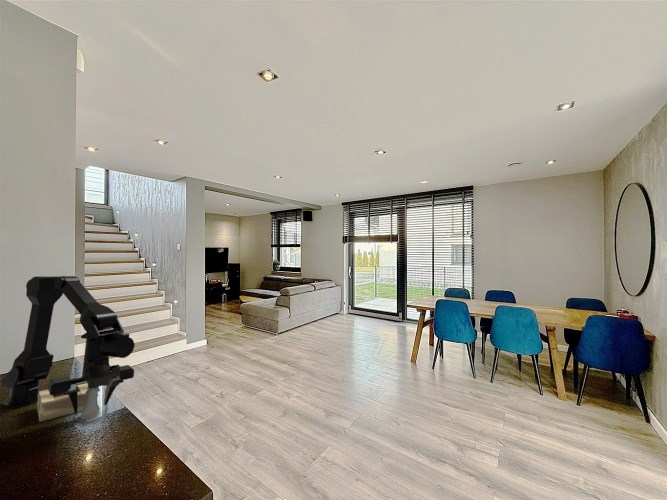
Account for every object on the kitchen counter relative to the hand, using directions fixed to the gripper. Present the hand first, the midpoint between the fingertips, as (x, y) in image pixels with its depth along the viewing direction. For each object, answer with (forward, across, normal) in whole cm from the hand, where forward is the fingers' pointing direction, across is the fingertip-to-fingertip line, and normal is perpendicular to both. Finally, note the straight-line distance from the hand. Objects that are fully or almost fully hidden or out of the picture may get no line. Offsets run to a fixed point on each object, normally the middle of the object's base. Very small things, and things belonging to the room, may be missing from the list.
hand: (90, 408), depth 82 cm
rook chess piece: (+2, 0, 0) cm, 2 cm away
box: (+2, -4, +11) cm, 12 cm away
